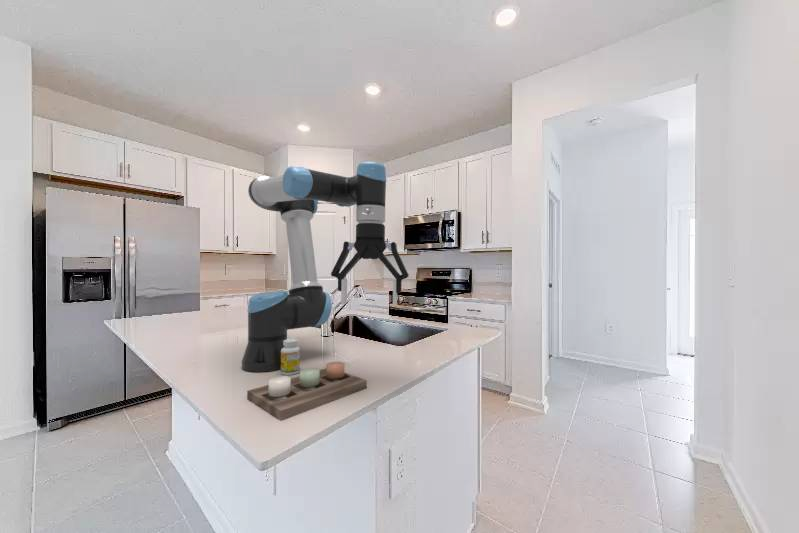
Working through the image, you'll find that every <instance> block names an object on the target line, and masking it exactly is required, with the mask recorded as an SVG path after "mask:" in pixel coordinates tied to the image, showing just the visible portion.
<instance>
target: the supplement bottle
mask: <svg viewBox="0 0 799 533" xmlns="http://www.w3.org/2000/svg"><path fill="white" fill-rule="evenodd" d="M283 346H284V347H283V348H282V349H281V369H280V374H281V375H282V376H283V375H284V376H293V375H297V374H298V373H300V371H301V370H300V368H301V367H300V364H301V363H300V360H301V359H300V353H301V352H300V350H301V349H300V347H299V346H298V339H295V338H287V340H284V341H283Z"/></svg>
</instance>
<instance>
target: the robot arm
mask: <svg viewBox="0 0 799 533" xmlns="http://www.w3.org/2000/svg"><path fill="white" fill-rule="evenodd" d="M355 173H356V174H355V175H353V176H349V177H348V176H343V175H338V174H332V173H329V172H323V171H319V170H314V169H310V168H306V167H303V166H294V165H293V166H291V165H290V166H289V167H287V168H286V169H285V171H284V173H283V174H281V175H277V176H272V177H270V176H268V175H267V176H266V175H264V176H263V175H262V176H259V177H256V178H254V179H253V180H252V181H251V182H250V183H249V185H248V197H249V198H250V200H251V201H252V202H253V204H255V205H256V206H258V207H259V208H261V209H264V210H267V211H271V212H279V213H280V219H281V220H282V221H283V222H285V225H286V226H285V227H286V236H287V246H288V253H289V254H288V255H289V265H290V274H291V283H292V286H291V287H290V288H289V289H288V292H287V291H286V290H275V291H274V290H272V291H271V290H270V291H267V292H266V291H265V292H261V293H257V294H254V295H252V296H250V298H249V299H248V303H247V304H248V306H247V344H246V347H245V350H244V354H243V356H242V359H241V369H242V370H244V371H246V372H250V373H251V372H253V373H263V372H264V373H267V372H273V371H278V370H281V349H282V348H283V347H284V346H283V341H284V340H287V339H288V330H295V329H296V330H297V329H304V328H314V327H316V326H317V327H319V326H323V325H324V324H325V323H327V321H329V318H330V316H331V313H332V299H331V296H330V294H329V293H328V292H325V291H324V288H323V285H322V284H320V283H319V282H318V276H317V267H316V259H315V250H314V249H315V248H314V243H313V242H314V241H313V235H312V227H311V221H312V220H313V219H314V215H315V214H316V213H317V211H318V207H319V206H318V205H319V201H321V202H326V203H333V204H335V205H336V206H339V207H346V208H347V207H348V208H349V207H352V206H356V207H355V208H356V211H355V214H356V215H355V216H356V217H355V218H356V219H355V220H356V221H355V222H357V224H356V225H355V242H350V241H344V242H343V245H342V251H341V253H340V255H339V256H338V259H337V260H336V263H335V265H334V266H333V269H332V270H331V273H330V276H331V277H333V278H336V279H337V290H338V292H341V296H340V297H341V298H340V301H341V302H340V303H341V305H346V304H348V278H346V276H348V274H349V273H350V272H351V271H352V269H353V268H354V267H355V266H356V265H357V263H358V262H359V261H360V260H361V259H363V260H369V259H370V260H380V262H381V263H383V265H384V266H385V268H387V270H388V272H390V274H391V275H392V276H393V277H394V278H395V279H394V280H393V281H392V307H396V306H398V294H400V293H401V292H402V281H403V280H405V279H407V278H409V276H410V275H409V273H408V270H407V268H406V266H405V264H404V262H403V260H402V258H401V256H400V253H399V252H398V245H397V242H395V241H392V242H388V243H386V239H385V238H386V237H385V236H386V235H385V234H386V226H385V224H384V223H385V222H386V196H387V195H386V191H387V188H386V187H387V175H386V174H387V173H386V166H385V165H384V164H382V163H381V162H378V161H362V162H359V163H358V165H357V166H356V172H355ZM353 249H355V251H356V252H355V254H353V257H352V258H351V259H350V261H348V263H347V264H346V265H345V267H343V266H344V263H345V262H346V259H347V257H348V256H349V253H350V251H352V250H353ZM387 249H388V251H390V252H391V254H392V256H393V258H394V260H395V262H396V264H397V267H398V269H399V271H400V273H401V274H400V273H399V272H398V271H397V269H396V268H395V267H394V265H393V264H392V262H390V260H389V259H388V258H387V256H386V255H385V254H384V252H385V251H386V250H387ZM342 267H343V269H342ZM341 269H342V270H341Z"/></svg>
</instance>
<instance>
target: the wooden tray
mask: <svg viewBox="0 0 799 533" xmlns="http://www.w3.org/2000/svg"><path fill="white" fill-rule="evenodd" d="M319 370H320V383H319V384H318V385H316V386H312V387H303V386H300V375H298V376H295V377H292V378H291V377H290V378H291V392H290V393H289V394H287V395H285V396H280V397H272V396H270V395H269V384H266V385H263V386H259V387H256V388H252V389H249V390H247V391H246V393H247V394H246V396H247V397H246V399H247V400H248V401H250V402H251V403H253V404H254V405H255V406H257V407H259V408H261V409H262V410H264V411H266V412H267V413H269V414H270V415H272V416H273V417H275V418H276V419H278V420H279V421H284V420H286V419H288V418H291V417H294V416H296V415H300V414H302V413H304V412H308V411H309V410H312V409H316V408H317V407H320V406H322V405H326V404H329V403H331V402H333V401H337V400H339V399H341V398H344V397H347V396H349V395H352V394H354V393H358V392H360V391H363V390H365V389H367V388H368V387H367V386H368V384H367V382H368V381H367V379H364V378H361V377H358V376H355V375H353V374H350V373H348V372H345V375H344V376H343V377H341V378H328V377H327V376H326V368H322V369H319ZM335 380H338V381H335ZM333 381H334V382H333ZM312 388H313V389H312ZM308 389H311V390H308ZM305 390H308V391H305ZM283 397H286V398H283ZM280 398H282V399H280ZM277 399H280V400H277ZM274 400H276V401H275V402H274Z"/></svg>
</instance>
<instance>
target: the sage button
mask: <svg viewBox="0 0 799 533" xmlns="http://www.w3.org/2000/svg"><path fill="white" fill-rule="evenodd" d="M320 370H321V369H318V368H315V367H313V368H312V367H311V368H304V369H302V370H300V371H299V376H300V386H303V387H311V388H313V387H312V386H316V385H318V384H319V383H320Z"/></svg>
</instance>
